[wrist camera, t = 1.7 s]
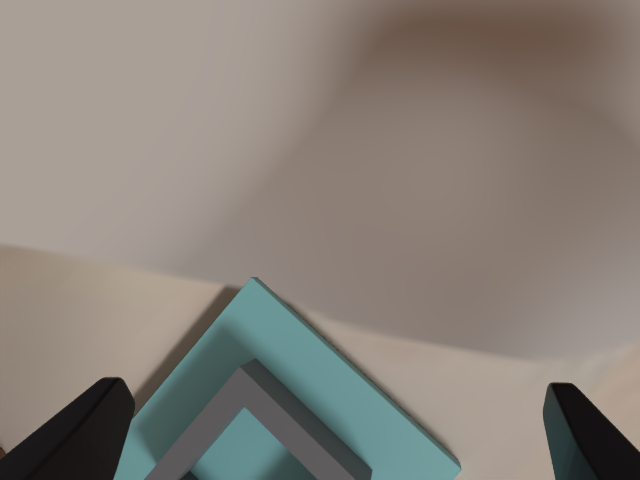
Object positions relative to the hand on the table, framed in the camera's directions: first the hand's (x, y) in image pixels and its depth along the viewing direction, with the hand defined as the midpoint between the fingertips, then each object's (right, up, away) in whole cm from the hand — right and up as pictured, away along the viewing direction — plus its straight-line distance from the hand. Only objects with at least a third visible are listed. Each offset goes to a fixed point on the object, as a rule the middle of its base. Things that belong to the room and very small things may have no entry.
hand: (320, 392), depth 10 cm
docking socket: (-3, -9, +15) cm, 18 cm away
